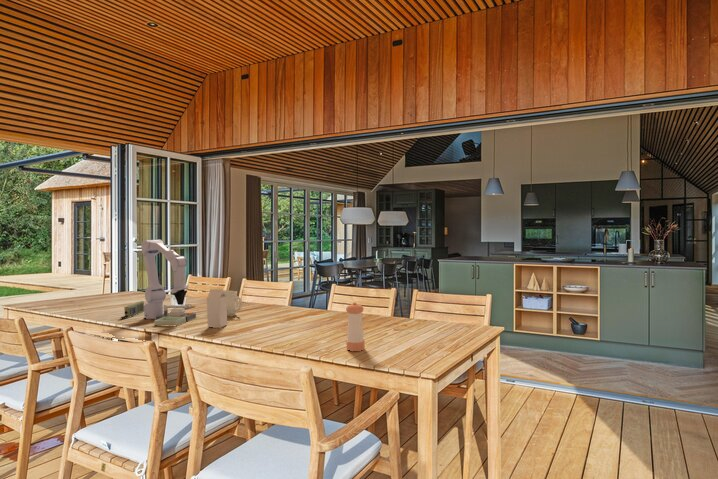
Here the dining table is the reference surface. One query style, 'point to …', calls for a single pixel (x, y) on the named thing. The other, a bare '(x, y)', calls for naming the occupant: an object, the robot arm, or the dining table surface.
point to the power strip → (188, 316)
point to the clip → (174, 307)
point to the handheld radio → (134, 309)
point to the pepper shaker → (355, 328)
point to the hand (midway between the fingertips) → (180, 304)
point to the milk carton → (216, 308)
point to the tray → (170, 321)
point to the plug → (177, 312)
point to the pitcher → (232, 302)
